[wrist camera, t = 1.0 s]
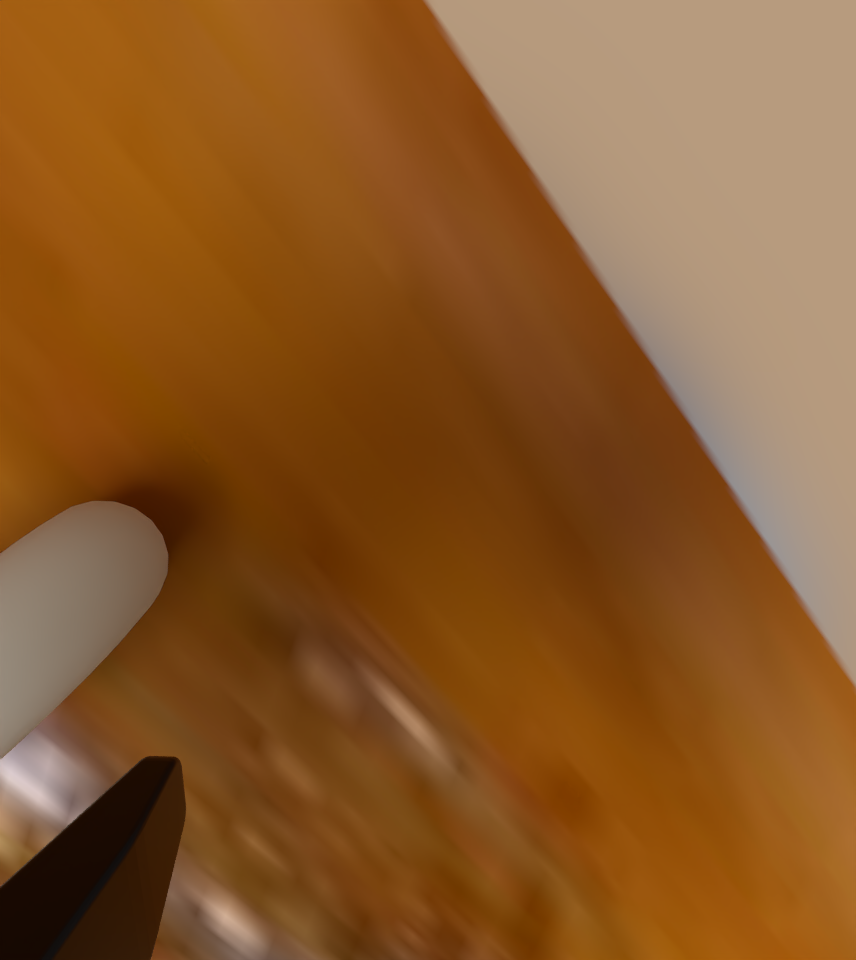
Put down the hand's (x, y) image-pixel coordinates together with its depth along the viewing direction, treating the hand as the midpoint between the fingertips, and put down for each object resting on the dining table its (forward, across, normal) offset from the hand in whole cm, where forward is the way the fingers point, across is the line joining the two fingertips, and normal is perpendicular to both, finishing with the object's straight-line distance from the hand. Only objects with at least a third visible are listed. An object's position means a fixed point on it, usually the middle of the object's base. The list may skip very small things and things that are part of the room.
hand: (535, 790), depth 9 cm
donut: (+14, +12, +5) cm, 19 cm away
